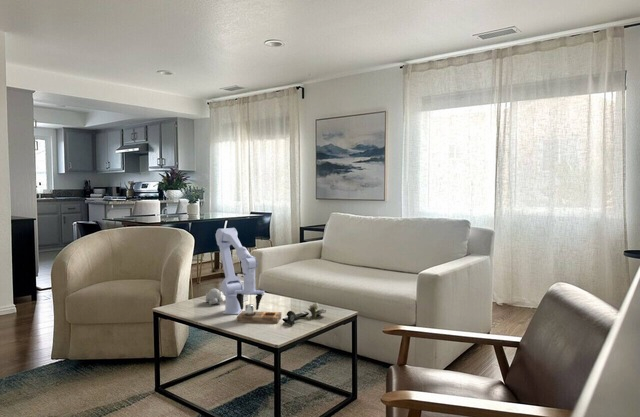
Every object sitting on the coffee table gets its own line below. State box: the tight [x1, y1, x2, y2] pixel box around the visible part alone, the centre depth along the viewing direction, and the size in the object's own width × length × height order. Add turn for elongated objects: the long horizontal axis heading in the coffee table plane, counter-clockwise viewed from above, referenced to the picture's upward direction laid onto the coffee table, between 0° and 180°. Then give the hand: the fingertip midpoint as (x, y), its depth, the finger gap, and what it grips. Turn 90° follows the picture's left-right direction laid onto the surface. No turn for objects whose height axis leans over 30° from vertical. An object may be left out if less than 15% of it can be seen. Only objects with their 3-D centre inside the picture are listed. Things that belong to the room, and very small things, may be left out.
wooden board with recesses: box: [236, 310, 282, 324], centre depth 223 cm, size 10×20×3 cm, turn 84°
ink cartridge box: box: [231, 273, 249, 303], centre depth 261 cm, size 9×5×15 cm, turn 58°
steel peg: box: [244, 303, 255, 316], centre depth 223 cm, size 4×4×7 cm
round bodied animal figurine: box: [205, 288, 224, 306], centre depth 253 cm, size 7×12×8 cm, turn 47°
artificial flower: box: [286, 302, 327, 326], centre depth 223 cm, size 9×22×10 cm, turn 130°
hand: (249, 309), depth 223 cm, fingers open, 7 cm apart
